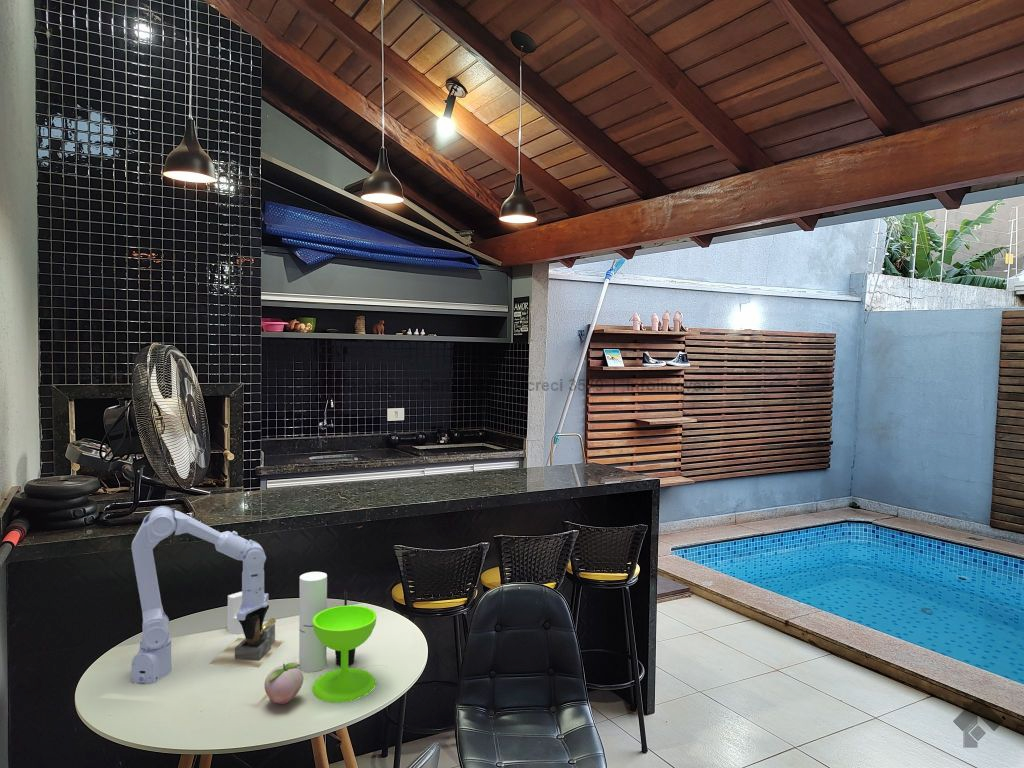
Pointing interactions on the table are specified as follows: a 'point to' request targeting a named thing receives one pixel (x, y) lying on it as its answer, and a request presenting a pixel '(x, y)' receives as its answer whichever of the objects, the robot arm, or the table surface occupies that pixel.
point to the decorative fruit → (284, 683)
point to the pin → (267, 625)
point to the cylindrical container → (311, 621)
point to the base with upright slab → (234, 613)
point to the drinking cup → (350, 652)
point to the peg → (257, 633)
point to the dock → (249, 651)
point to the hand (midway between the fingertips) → (253, 635)
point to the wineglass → (344, 651)
